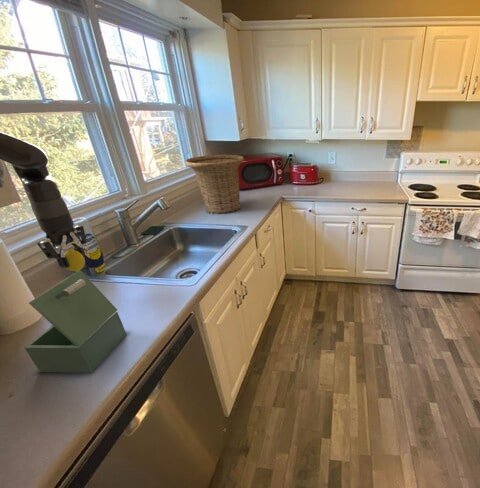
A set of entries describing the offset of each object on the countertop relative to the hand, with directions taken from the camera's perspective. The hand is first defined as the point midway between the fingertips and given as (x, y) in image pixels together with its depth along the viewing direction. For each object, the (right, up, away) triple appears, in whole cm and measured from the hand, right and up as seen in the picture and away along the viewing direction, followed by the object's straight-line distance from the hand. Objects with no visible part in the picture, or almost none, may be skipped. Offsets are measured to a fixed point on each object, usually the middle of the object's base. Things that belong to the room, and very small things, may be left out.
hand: (73, 262), depth 91 cm
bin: (+16, -24, -13) cm, 32 cm away
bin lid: (+19, -10, -20) cm, 29 cm away
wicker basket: (+13, +29, +98) cm, 104 cm away
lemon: (0, -3, +2) cm, 4 cm away
